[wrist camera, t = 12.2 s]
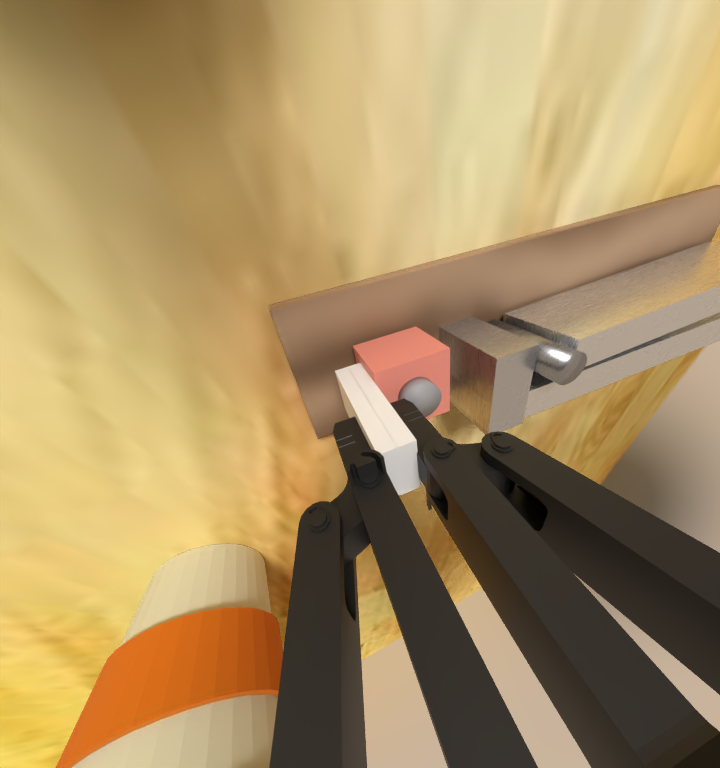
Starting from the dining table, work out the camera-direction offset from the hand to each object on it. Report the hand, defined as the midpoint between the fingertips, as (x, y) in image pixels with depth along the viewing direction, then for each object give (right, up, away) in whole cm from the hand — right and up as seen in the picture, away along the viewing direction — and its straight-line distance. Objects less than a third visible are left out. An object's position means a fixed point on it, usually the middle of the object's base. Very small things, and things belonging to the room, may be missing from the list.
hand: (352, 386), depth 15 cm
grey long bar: (+16, +5, +5) cm, 18 cm away
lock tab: (+2, +2, +2) cm, 3 cm away
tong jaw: (+17, +7, +4) cm, 19 cm away
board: (+12, +6, +4) cm, 14 cm away
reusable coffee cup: (-13, -17, +8) cm, 23 cm away
